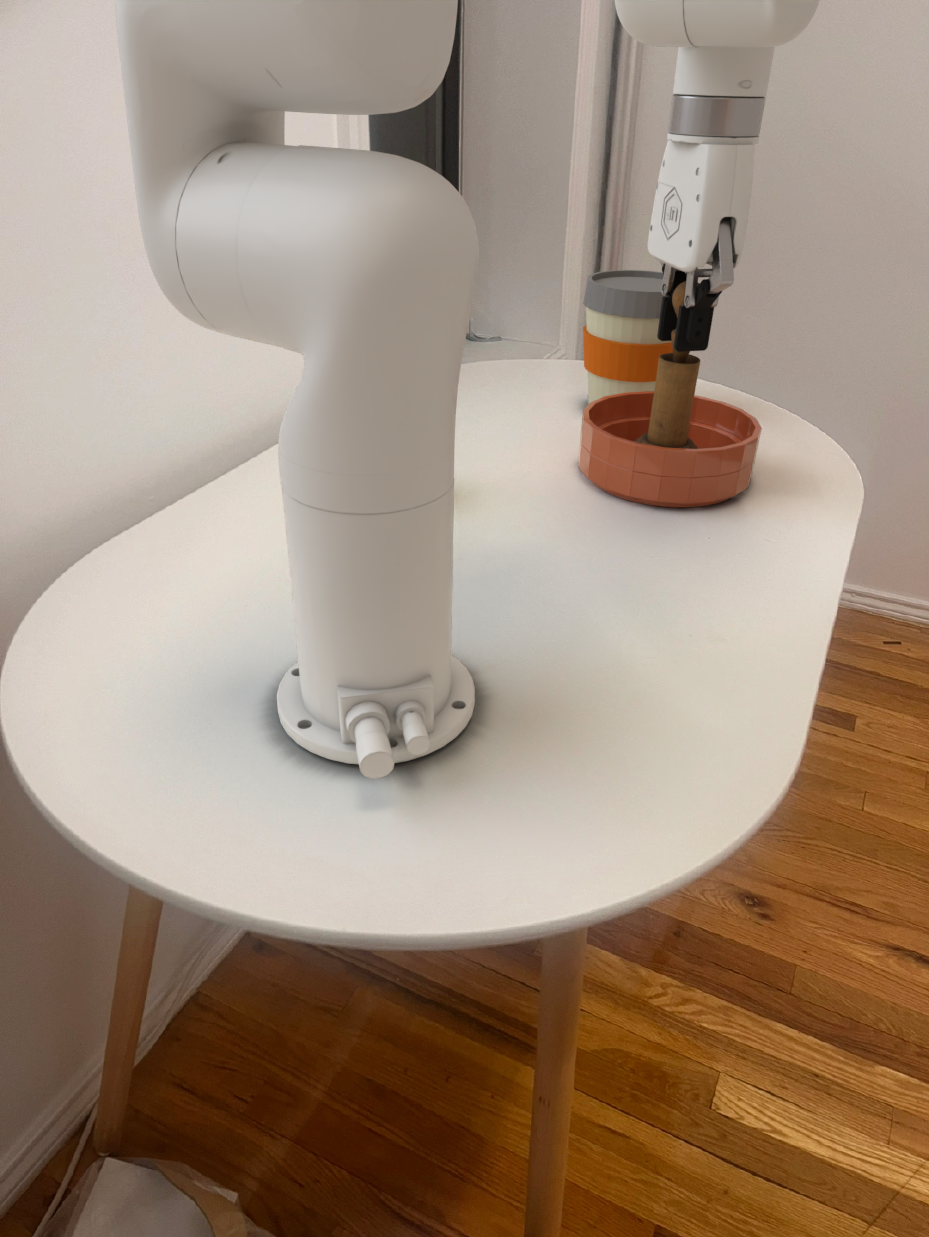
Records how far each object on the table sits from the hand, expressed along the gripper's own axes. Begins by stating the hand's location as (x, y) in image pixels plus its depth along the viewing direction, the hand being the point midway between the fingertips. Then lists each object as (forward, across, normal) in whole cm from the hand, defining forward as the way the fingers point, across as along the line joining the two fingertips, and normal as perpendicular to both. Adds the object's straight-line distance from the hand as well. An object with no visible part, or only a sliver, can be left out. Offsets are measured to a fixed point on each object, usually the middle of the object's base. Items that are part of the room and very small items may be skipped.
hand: (681, 343), depth 83 cm
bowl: (+13, 0, 0) cm, 13 cm away
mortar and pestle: (+13, 0, 0) cm, 13 cm away
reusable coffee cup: (+14, -20, +4) cm, 25 cm away
